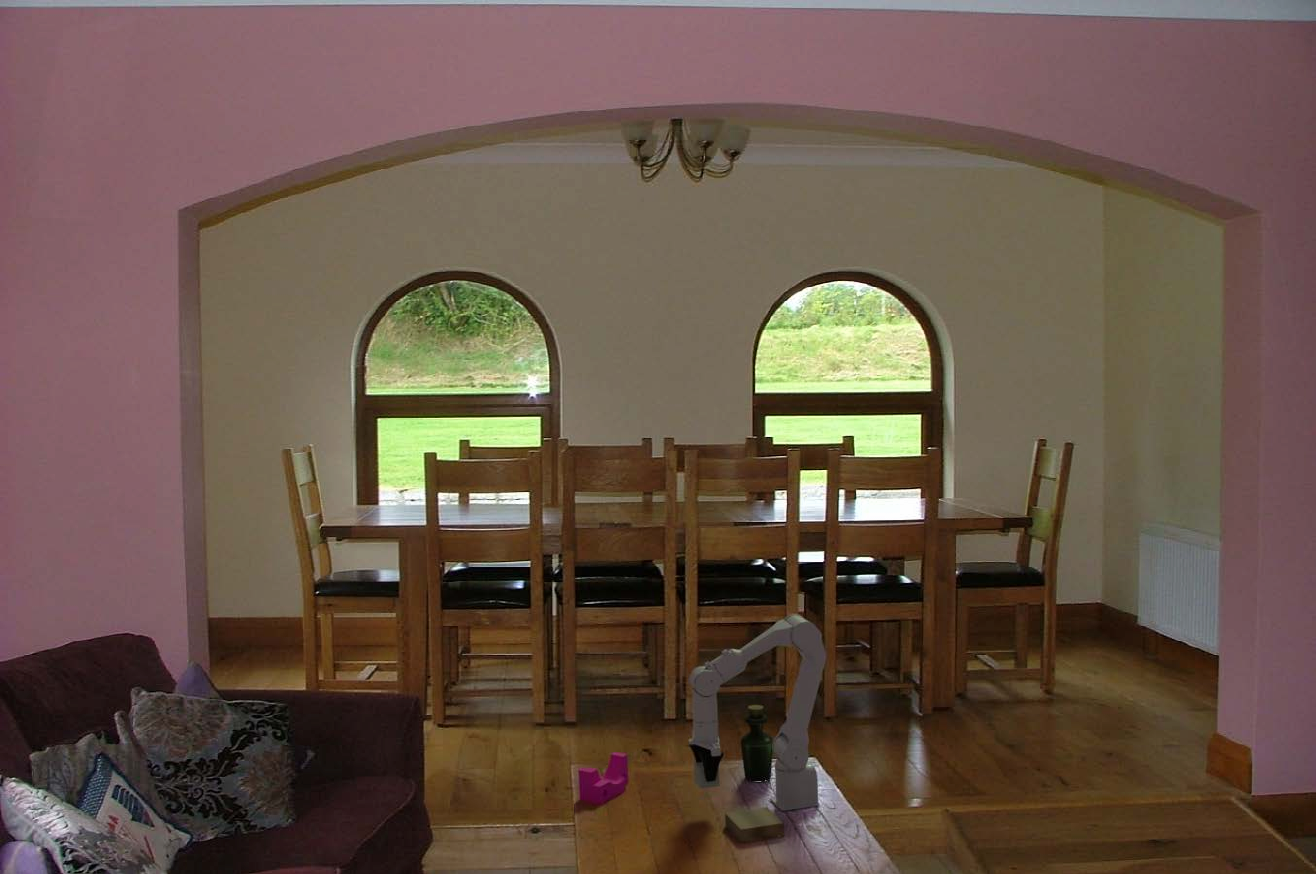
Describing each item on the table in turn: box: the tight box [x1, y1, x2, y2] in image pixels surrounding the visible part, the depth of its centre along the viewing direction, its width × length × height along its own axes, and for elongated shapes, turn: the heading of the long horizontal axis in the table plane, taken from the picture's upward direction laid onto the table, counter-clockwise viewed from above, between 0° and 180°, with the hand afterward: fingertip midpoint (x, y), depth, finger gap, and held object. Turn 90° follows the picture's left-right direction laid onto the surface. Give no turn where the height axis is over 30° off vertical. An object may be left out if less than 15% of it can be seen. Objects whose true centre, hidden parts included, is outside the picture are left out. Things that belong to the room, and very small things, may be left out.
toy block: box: [578, 751, 629, 805], centre depth 295 cm, size 15×6×8 cm, turn 146°
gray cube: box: [693, 762, 720, 789], centre depth 279 cm, size 4×4×4 cm
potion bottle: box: [740, 704, 774, 782], centre depth 301 cm, size 8×8×18 cm
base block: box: [724, 806, 785, 844], centre depth 268 cm, size 10×10×3 cm
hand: (707, 777), depth 279 cm, fingers closed on gray cube, 4 cm apart
